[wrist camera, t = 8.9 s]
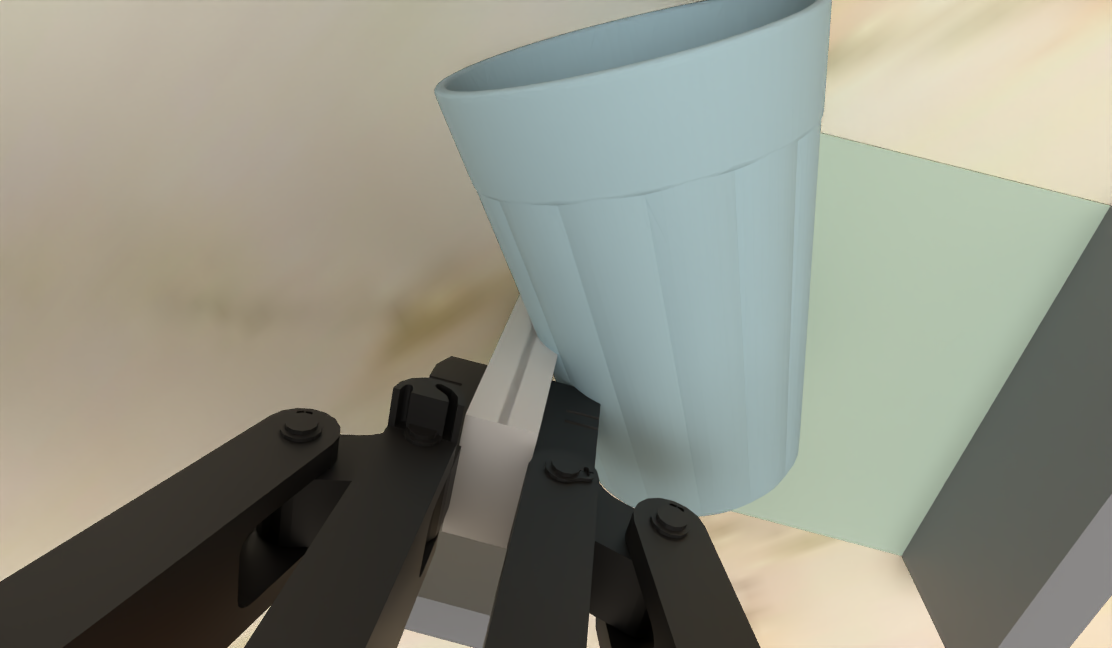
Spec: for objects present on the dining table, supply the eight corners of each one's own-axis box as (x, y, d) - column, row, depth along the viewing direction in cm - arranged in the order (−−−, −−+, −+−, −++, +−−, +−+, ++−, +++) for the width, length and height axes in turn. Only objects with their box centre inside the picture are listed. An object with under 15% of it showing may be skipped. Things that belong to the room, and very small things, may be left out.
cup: (602, 608, 14) (458, 113, 9) (524, 417, 21) (418, 73, 16) (917, 484, 15) (932, -22, 10) (745, 340, 22) (707, -7, 17)
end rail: (900, 553, 22) (966, 691, 17) (1107, 204, 17) (1275, 270, 12) (945, 565, 22) (1022, 705, 17) (1166, 219, 17) (1356, 290, 12)
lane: (260, 490, 24) (192, 571, 21) (290, -215, 15) (180, -289, 12) (580, 575, 24) (568, 673, 20) (797, -91, 15) (844, -127, 12)
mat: (641, 485, 22) (641, 487, 22) (770, 120, 17) (770, 120, 17) (908, 555, 22) (908, 557, 22) (1117, 207, 17) (1120, 208, 17)
